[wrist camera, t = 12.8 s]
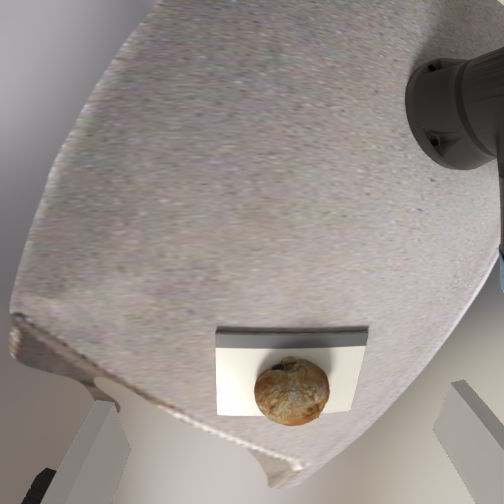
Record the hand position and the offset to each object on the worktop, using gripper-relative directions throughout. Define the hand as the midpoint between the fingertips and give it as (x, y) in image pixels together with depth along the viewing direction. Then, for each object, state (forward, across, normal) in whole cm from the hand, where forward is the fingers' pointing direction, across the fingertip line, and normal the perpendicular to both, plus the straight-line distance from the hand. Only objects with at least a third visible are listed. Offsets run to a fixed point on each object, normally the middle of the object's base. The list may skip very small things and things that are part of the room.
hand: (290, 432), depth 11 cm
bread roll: (+28, +4, -19) cm, 34 cm away
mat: (+28, +4, -18) cm, 34 cm away
